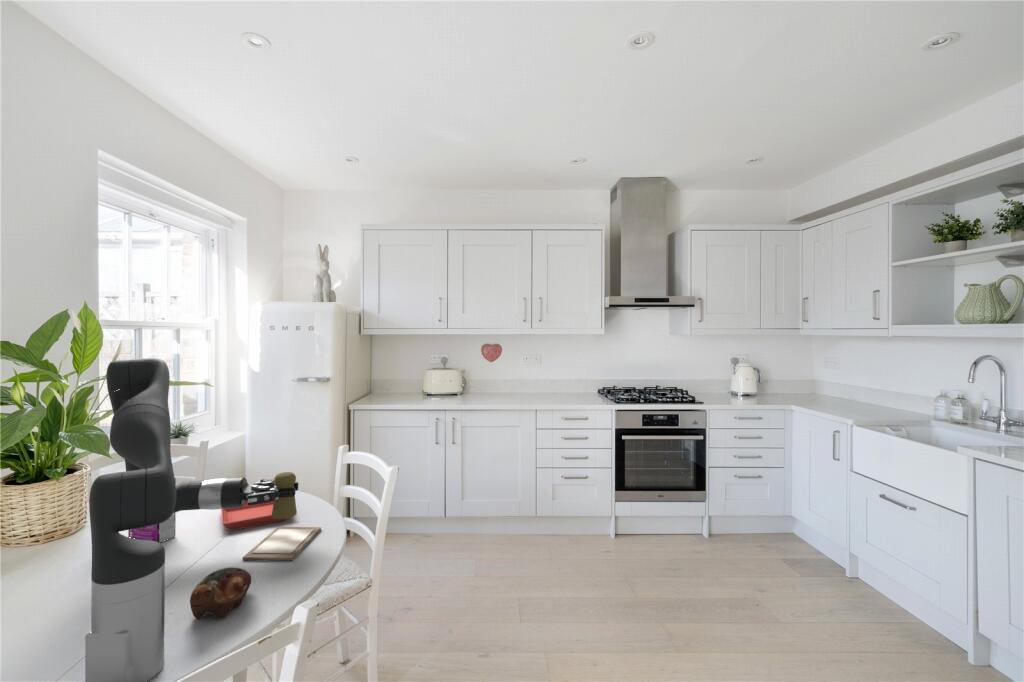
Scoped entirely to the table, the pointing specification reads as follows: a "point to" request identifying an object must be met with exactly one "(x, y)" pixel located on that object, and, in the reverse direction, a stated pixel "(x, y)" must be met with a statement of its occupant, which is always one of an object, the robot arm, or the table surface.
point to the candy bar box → (156, 530)
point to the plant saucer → (248, 516)
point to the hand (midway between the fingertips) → (296, 489)
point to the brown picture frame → (282, 543)
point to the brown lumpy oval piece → (220, 592)
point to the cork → (284, 505)
